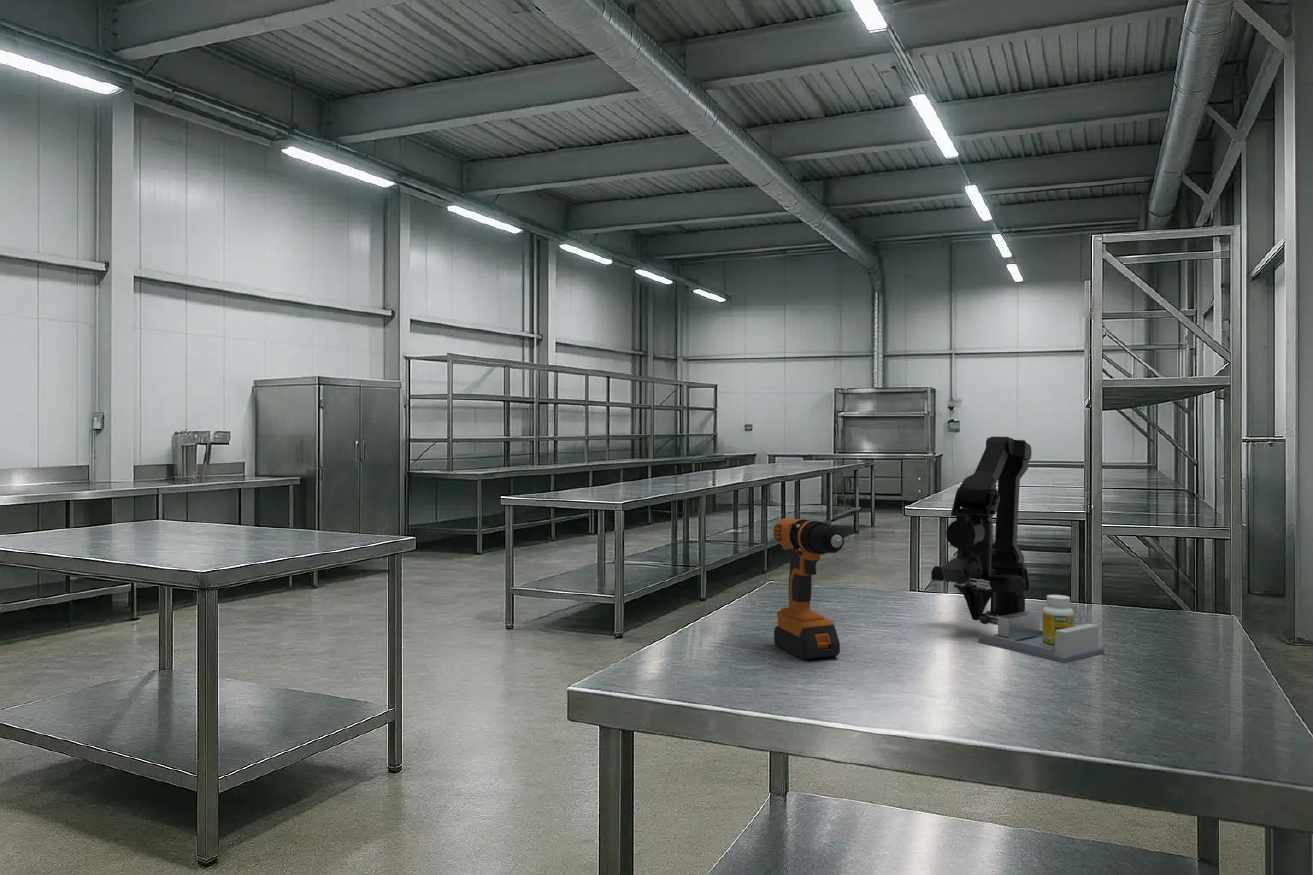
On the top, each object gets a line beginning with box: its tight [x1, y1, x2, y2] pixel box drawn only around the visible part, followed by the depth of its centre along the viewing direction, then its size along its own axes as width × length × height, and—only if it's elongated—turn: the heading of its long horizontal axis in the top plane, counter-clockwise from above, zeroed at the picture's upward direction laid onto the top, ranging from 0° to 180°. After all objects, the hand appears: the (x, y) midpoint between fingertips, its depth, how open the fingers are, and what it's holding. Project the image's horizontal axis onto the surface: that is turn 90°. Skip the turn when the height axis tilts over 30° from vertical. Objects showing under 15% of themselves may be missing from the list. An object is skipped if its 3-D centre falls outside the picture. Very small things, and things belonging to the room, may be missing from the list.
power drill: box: [773, 517, 845, 661], centre depth 163 cm, size 22×7×25 cm, turn 18°
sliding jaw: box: [978, 610, 1040, 640], centre depth 176 cm, size 10×10×4 cm
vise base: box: [977, 623, 1105, 664], centre depth 169 cm, size 18×13×5 cm
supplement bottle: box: [1042, 594, 1075, 650], centre depth 166 cm, size 5×5×10 cm
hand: (975, 620), depth 181 cm, fingers closed
